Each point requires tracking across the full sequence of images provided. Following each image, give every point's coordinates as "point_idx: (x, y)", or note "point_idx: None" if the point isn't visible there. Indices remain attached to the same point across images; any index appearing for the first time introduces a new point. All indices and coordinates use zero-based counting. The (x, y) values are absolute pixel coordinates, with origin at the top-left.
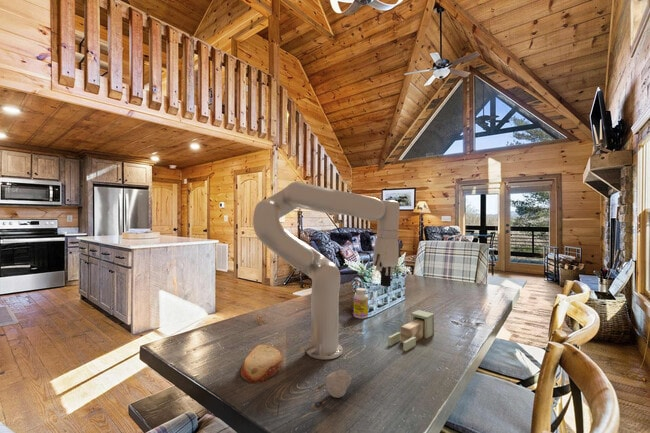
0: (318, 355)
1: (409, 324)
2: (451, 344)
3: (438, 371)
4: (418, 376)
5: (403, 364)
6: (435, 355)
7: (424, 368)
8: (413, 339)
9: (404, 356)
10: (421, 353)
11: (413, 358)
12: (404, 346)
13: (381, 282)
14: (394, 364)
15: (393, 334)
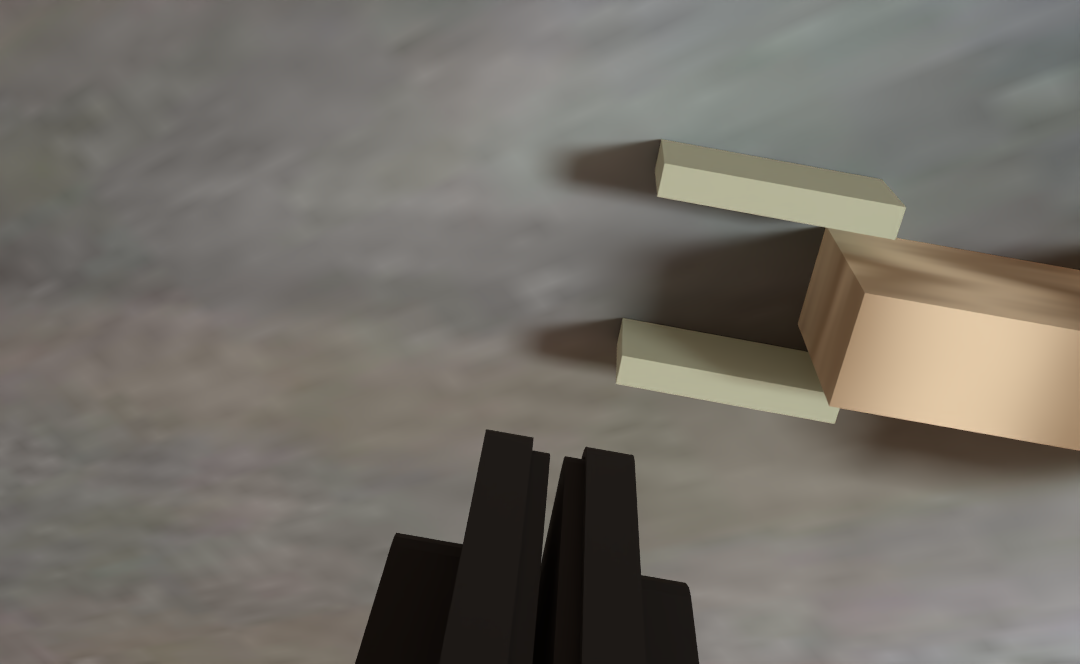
0: None
1: (1009, 357)
2: (1025, 632)
3: None
4: (256, 544)
5: (353, 405)
6: (692, 568)
7: None
8: (779, 409)
9: (505, 366)
10: (662, 468)
11: None
12: (618, 350)
13: (391, 545)
14: (301, 346)
15: (778, 187)
